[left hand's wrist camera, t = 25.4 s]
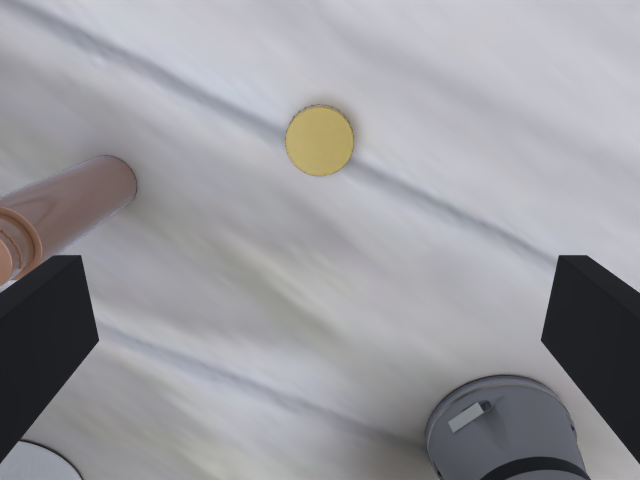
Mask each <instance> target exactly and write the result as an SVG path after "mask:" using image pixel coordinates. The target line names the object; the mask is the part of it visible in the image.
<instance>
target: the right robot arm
mask: <svg viewBox="0 0 640 480" xmlns="http://www.w3.org/2000/svg"><path fill="white" fill-rule="evenodd" d="M0 480H82V479H81V477H80V476H79V474H78V473H77V472H76V470H75V469H74V468H73V467H72V466H71V465H70V464H69V463H68V462H66V461H65V460H64V459H63V458H61V457H60V456H58V455H57V454H55V453H53V452H51V451H49V450H47V449H45V448H43V447H40V446H37V445H34V444H31V443H26V442H21V441H18V443H17V444H16V445H15V446H14V448H13V449H12V450H11V451H10V452H9V454H8V455H7V456H6V457H5V459H4V460H3V461H2V462H1V464H0Z"/></svg>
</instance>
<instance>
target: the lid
mask: <svg viewBox="0 0 640 480" xmlns="http://www.w3.org/2000/svg"><path fill="white" fill-rule="evenodd" d="M349 124H350V123H349V121H347V120H346V118H345V116H344V115H342V114H341V113H340V111H339V110H338V111H337V110H336V109H334V108H333V107H329V106H327V105H325V106H324V105H319V104H318V105H315V106H313V105H311V106H310V107H308V108H306V107H305V108H304V110H302V111H301V112H300V111H299V112H298V114H297V115H296V116H294V117H293V120H292V122H290V123H289V128H288V129H287V131H286V132H287V134H286V137H285V140H286V145H285V147H286V149H287V154H288V155H289V158H290V160H291V161H292V162H293V164H294V165H295V166H296V167H297V168H298V169H300V170H301V171H303V172H304V173H307V174H310V175H314V176H326V175H330V174H332V173H335V172H336V171H338V170H339V169H341V168H342V167H343V166H344V165H345V164H346V163H347V161H348V160H349V158H350V156H351V153H352V150H353V145H354V143H353V142H354V140H353V138H354V136H353V134H352V131H353V130H352V128H351V127H350V125H349Z"/></svg>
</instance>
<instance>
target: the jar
mask: <svg viewBox="0 0 640 480" xmlns="http://www.w3.org/2000/svg"><path fill="white" fill-rule="evenodd" d="M136 191H137V182H136V178H135V176H134V173H133V172H132V170H131V169H130V168H129V166H128V165H127V164H125V163H124V162H123V161H121V160H120V159H118V158H115V157H112V156H97V157H95V158H92V159H90V160H87V161H85V162H82V163H80V164H78V165H75V166H73V167H70V168H68V169H65V170H63V171H61V172H58V173H56V174H53V175H51V176H48V177H46V178H44V179H41V180H39V181H36V182H34V183H31V184H29V185H27V186H24V187H22V188H19V189H17V190H14V191H12V192H10V193H7V194H5V195H2V196H0V286H2V285H3V284H5V283H6V282H8V281H9V280H18V279H21V278H22V277H23V276H25V275H26V274H28V273H29V272H30V271H32V270H33V269H35V268H36V267H37V266H39V265H40V264H42V263H43V262H44V261H46V260H47V259H49V258H50V257H51V256H53V255H59V254H61V253H62V252H63V251H65V250H66V249H67V248H69V247H70V246H72V245H73V244H74V243H76V242H77V241H78V240H80V239H81V238H83V237H84V236H85V235H87V234H88V233H89V232H91V231H92V230H94V229H95V228H96V227H98V226H99V225H100V224H102V223H103V222H105V221H106V220H107V219H109V218H110V217H111V216H113V215H114V214H116V213H117V212H118V211H120V210H121V209H122V208H124V207H125V206H127V205H128V204H129V203H130V202H131V201H132V200H133V199H134V197H135V194H136Z"/></svg>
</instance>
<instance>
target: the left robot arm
mask: <svg viewBox="0 0 640 480" xmlns="http://www.w3.org/2000/svg"><path fill="white" fill-rule="evenodd" d="M98 341H99V337H98V333H97V328H96V323H95V319H94V314H93V309H92V304H91V300H90V295H89V290H88V286H87V281H86V276H85V272H84V267H83V262H82V258H81V255H53V256H51V257H50V258H49V259H47V260H46V261H44V262H43V263H42V264H40V265H39V266H37V267H36V268H35V269H33V270H32V271H30V272H29V273H28V274H26V275H25V276H23V277H22V278H21V279H19V280H18V281H16V282H15V283H14V284H12V285H11V286H9V287H8V288H7V289H5V290H4V291H2V292H1V293H0V464H1V462H2V461H3V460H4V459H5V457H6V456H7V455H8V454H9V452H10V451H11V450H12V449H13V448H14V446H15V445H16V444H17V443H18V441H19V440H20V439H21V438H22V436H23V435H24V434H25V433H26V431H27V430H28V429H29V428H30V426H31V425H32V424H33V423H34V421H35V420H36V419H37V418H38V416H39V415H40V414H41V413H42V411H43V410H44V409H45V408H46V406H47V405H48V404H49V403H50V401H51V400H52V399H53V398H54V396H55V395H56V394H57V393H58V391H59V390H60V389H61V388H62V386H63V385H64V384H65V383H66V381H67V380H68V379H69V378H70V376H71V375H72V374H73V373H74V371H75V370H76V369H77V368H78V366H79V365H80V364H81V363H82V361H83V360H84V359H85V358H86V356H87V355H88V354H89V353H90V351H91V350H92V349H93V348H94V346H95V345H96V344H97V343H98ZM541 341H542V343H543V344H544V345H545V346H546V348H547V349H548V350H549V351H550V353H551V354H552V355H553V356H554V358H555V359H556V360H557V361H558V363H559V364H560V365H561V366H562V368H563V369H564V370H565V371H566V373H567V374H568V375H569V376H570V378H571V379H572V380H573V381H574V383H575V384H576V385H577V386H578V388H579V389H580V390H581V391H582V393H583V394H584V395H585V396H586V398H587V399H588V400H589V401H590V403H591V404H592V405H593V406H594V408H595V409H596V410H597V411H598V413H599V414H600V415H601V416H602V418H603V419H604V420H605V421H606V423H607V424H608V425H609V426H610V428H611V429H612V430H613V431H614V433H615V434H616V435H617V436H618V438H619V439H620V440H621V441H622V443H623V444H624V445H625V446H626V448H627V449H628V450H629V451H630V452H631V454H632V455H633V456H634V457H635V459H636V460H637V461H638V462H639V464H640V293H639V292H638V291H636V290H635V289H633V288H632V287H631V286H629V285H628V284H626V283H625V282H624V281H622V280H621V279H619V278H618V277H617V276H615V275H614V274H612V273H611V272H610V271H608V270H607V269H605V268H604V267H603V266H601V265H600V264H598V263H597V262H596V261H594V260H593V259H591V258H590V257H589V256H587V255H559V258H558V262H557V267H556V272H555V276H554V281H553V286H552V290H551V295H550V300H549V304H548V309H547V314H546V319H545V323H544V328H543V333H542V337H541ZM425 443H426V448H427V452H428V455H429V459H430V462H431V464H432V466H433V468H434V470H435V472H436V474H437V475H438V477H439V478H440V480H591V479H590V478H589V476H588V475H587V473H586V470H585V466H584V463H583V459H582V456H581V453H580V451H579V448H578V445H577V436H576V431H575V427H574V424H573V421H572V419H571V417H570V415H569V413H568V411H567V409H566V408H565V406H564V405H563V404H562V402H561V401H560V399H559V398H558V397H557V396H556V395H555V394H554V393H553V392H552V391H551V390H550V389H549V388H547V387H546V386H544V385H542V384H540V383H538V382H536V381H533V380H531V379H527V378H523V377H517V376H495V377H489V378H484V379H480V380H477V381H474V382H471V383H469V384H466V385H464V386H462V387H461V388H459V389H457V390H456V391H454V392H452V393H451V394H450V395H448V396H447V397H446V398H445V399H444V400H443V401H442V402H441V403H440V404H439V405H438V406H437V408H436V409H435V410H434V412H433V413H432V415H431V417H430V419H429V421H428V424H427V428H426V433H425Z"/></svg>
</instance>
